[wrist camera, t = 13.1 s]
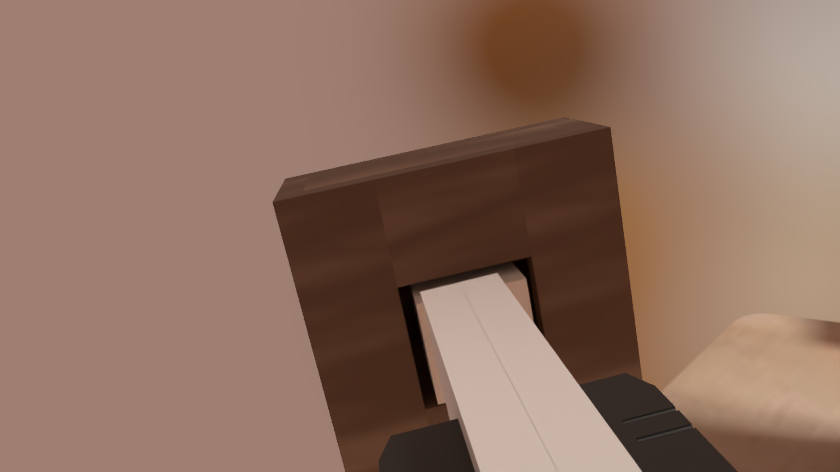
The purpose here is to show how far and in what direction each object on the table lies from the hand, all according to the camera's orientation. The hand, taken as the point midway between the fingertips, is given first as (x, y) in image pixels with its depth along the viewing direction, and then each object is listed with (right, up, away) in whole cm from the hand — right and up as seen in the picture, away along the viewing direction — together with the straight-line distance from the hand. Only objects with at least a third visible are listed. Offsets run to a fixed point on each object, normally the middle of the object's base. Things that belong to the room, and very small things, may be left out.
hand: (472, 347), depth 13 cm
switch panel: (+6, -24, +21) cm, 32 cm away
